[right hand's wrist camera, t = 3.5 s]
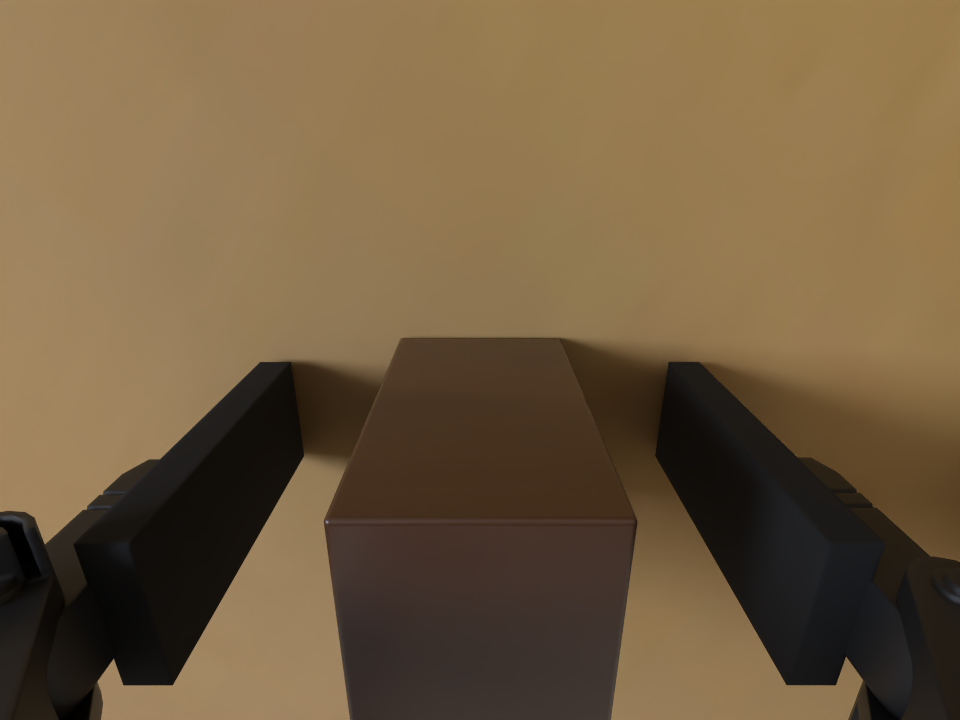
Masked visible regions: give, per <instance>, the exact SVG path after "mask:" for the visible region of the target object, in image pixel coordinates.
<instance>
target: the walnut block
mask: <svg viewBox="0 0 960 720" xmlns="http://www.w3.org/2000/svg"><path fill="white" fill-rule="evenodd" d="M324 527H325V534H326V542H327V549H328V557H329V564H330V572H331V579H332V587H333V594H334V602H335V610H336V617H337V625H338V632H339V640H340V647H341V655H342V662H343V670H344V677H345V685H346V692H347V700H348V707H349V715H350V720H611V713H612V706H613V699H614V691H615V684H616V676H617V669H618V662H619V654H620V647H621V639H622V632H623V625H624V617H625V610H626V602H627V595H628V588H629V580H630V573H631V565H632V558H633V551H634V543H635V536H636V529H637V519H636V516H635V514H634V512H633V509H632V507H631V505H630V502H629V500H628V498H627V495H626V493H625V491H624V488H623V486H622V483H621V481H620V479H619V476H618V474H617V472H616V469H615V467H614V465H613V462H612V460H611V458H610V455H609V453H608V451H607V448H606V446H605V444H604V441H603V439H602V437H601V434H600V432H599V430H598V427H597V425H596V423H595V420H594V418H593V416H592V413H591V411H590V409H589V406H588V404H587V402H586V399H585V397H584V394H583V392H582V390H581V387H580V385H579V383H578V380H577V378H576V376H575V373H574V371H573V369H572V366H571V364H570V362H569V359H568V357H567V355H566V352H565V350H564V348H563V345H562V343H561V341H560V339H558V338H402V339H400V341H399V344H398V346H397V348H396V351H395V353H394V356H393V358H392V360H391V363H390V365H389V367H388V370H387V372H386V375H385V377H384V379H383V382H382V384H381V386H380V389H379V391H378V394H377V396H376V398H375V401H374V403H373V405H372V408H371V410H370V413H369V415H368V417H367V420H366V422H365V424H364V427H363V429H362V431H361V434H360V436H359V439H358V441H357V443H356V446H355V448H354V450H353V453H352V455H351V458H350V460H349V462H348V465H347V467H346V469H345V472H344V474H343V477H342V479H341V481H340V484H339V486H338V488H337V491H336V493H335V496H334V498H333V500H332V503H331V505H330V507H329V510H328V512H327V515H326V517H325V520H324Z"/></svg>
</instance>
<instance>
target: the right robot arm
mask: <svg viewBox="0 0 960 720" xmlns="http://www.w3.org/2000/svg"><path fill="white" fill-rule="evenodd" d="M655 456H656V458H657V459H658V461H659V463H660V465H661V466H662V468H663V470H664V472H665V473H666V475H667V477H668V479H669V480H670V482H671V484H672V486H673V487H674V489H675V491H676V493H677V494H678V496H679V498H680V500H681V501H682V503H683V505H684V507H685V508H686V510H687V512H688V514H689V515H690V517H691V519H692V521H693V522H694V524H695V526H696V528H697V529H698V531H699V533H700V535H701V536H702V538H703V540H704V542H705V543H706V545H707V547H708V549H709V550H710V552H711V554H712V556H713V557H714V559H715V561H716V563H717V564H718V566H719V568H720V570H721V571H722V573H723V575H724V577H725V578H726V580H727V582H728V584H729V585H730V587H731V589H732V591H733V592H734V594H735V596H736V598H737V599H738V601H739V603H740V604H741V606H742V608H743V610H744V611H745V613H746V615H747V617H748V618H749V620H750V622H751V624H752V625H753V627H754V629H755V631H756V632H757V634H758V636H759V638H760V639H761V641H762V643H763V645H764V646H765V648H766V650H767V652H768V653H769V655H770V657H771V659H772V660H773V662H774V664H775V666H776V667H777V669H778V671H779V673H780V674H781V676H782V678H783V680H784V681H785V683H786V685H836V683H837V680H838V677H839V675H840V672H841V669H842V666H843V663H844V661H845V658H846V657H847V658H848V659H849V661H850V662H851V664H852V665H853V666H854V668H855V669H856V671H857V672H858V673H859V675H860V676H861V677H862V679H863V683H862V685H861V688H860V690H859V693H858V696H857V698H856V701H855V704H854V706H853V709H852V711H851V714H850V717H849V719H848V720H960V562H958V561H955V560H950V559H944V558H938V557H930V556H929V555H928V554H927V553H926V552H925V551H924V550H923V549H922V548H921V547H919V546H918V545H917V544H916V543H915V542H914V541H913V540H912V539H911V538H909V537H908V536H907V535H906V534H905V533H904V532H903V531H902V530H901V529H899V528H898V527H897V526H896V525H895V524H894V523H893V522H892V521H891V520H890V519H888V518H887V517H886V516H885V515H884V514H883V513H882V512H881V511H880V510H878V509H877V508H873V506H872V503H871V502H870V501H868V500H867V499H866V498H865V497H864V496H863V495H862V494H861V493H857V492H856V489H855V488H854V487H853V486H852V485H851V484H850V483H849V482H847V481H846V480H845V479H844V478H843V477H842V476H841V475H840V474H839V473H837V472H836V471H834V470H832V469H830V468H829V467H827V466H825V465H823V464H821V463H819V462H818V461H816V460H814V459H812V458H797V457H796V456H795V455H794V454H793V453H792V452H791V451H790V450H789V449H788V448H787V447H786V446H785V445H784V444H783V443H782V442H781V441H780V440H779V439H778V438H777V437H776V436H775V435H773V434H772V433H771V432H770V431H769V430H768V429H767V428H766V427H765V426H764V425H763V424H762V423H761V422H760V421H759V420H758V419H757V418H756V417H755V416H754V415H753V414H752V413H751V412H750V411H749V410H748V409H747V408H746V407H745V406H744V405H743V404H742V403H741V402H740V401H738V400H737V399H736V398H735V397H734V396H733V395H732V394H731V393H730V392H729V391H728V390H727V389H726V388H725V387H724V386H723V385H722V384H721V383H720V382H719V381H718V380H717V379H716V378H715V377H714V376H713V375H712V374H711V373H710V372H709V371H708V370H707V369H706V368H704V367H703V366H702V365H701V364H700V363H699V362H669V364H668V371H667V378H666V385H665V392H664V399H663V406H662V413H661V420H660V427H659V434H658V441H657V448H656V455H655ZM303 457H304V452H303V445H302V438H301V431H300V424H299V417H298V410H297V403H296V397H295V390H294V383H293V376H292V369H291V362H260V363H259V364H258V365H257V366H256V367H255V368H254V369H253V370H252V371H251V372H250V373H249V374H248V375H247V376H246V377H245V378H244V379H243V380H241V381H240V382H239V383H238V384H237V385H236V386H235V387H234V388H233V389H232V390H231V391H230V392H229V393H228V394H227V395H226V396H225V397H224V398H223V399H222V400H221V401H220V402H219V403H218V404H217V405H216V406H215V407H214V408H213V409H212V410H211V411H210V412H209V413H207V414H206V415H205V416H204V417H203V418H202V419H201V420H200V421H199V422H198V423H197V424H196V425H195V426H194V427H193V428H192V429H191V430H190V431H189V432H188V433H187V434H186V435H185V436H184V437H183V438H182V439H181V440H180V441H179V442H178V443H177V444H176V445H175V446H173V447H172V448H171V449H170V450H169V451H168V452H167V453H166V454H165V455H164V456H163V457H162V458H161V459H160V460H147V461H145V462H144V463H142V464H140V465H138V466H136V467H135V468H133V469H131V470H129V471H128V472H126V473H124V474H122V475H121V476H120V477H119V478H118V479H117V480H116V481H115V482H113V483H112V484H111V485H110V486H109V487H108V488H107V489H106V490H105V491H104V492H103V495H99V496H98V497H97V498H96V499H95V500H94V501H93V502H91V503H90V504H89V505H88V506H87V510H83V511H82V512H80V513H79V514H78V515H77V516H76V517H75V518H74V519H73V520H72V521H71V522H69V523H68V524H67V525H66V526H65V527H64V528H63V529H62V530H61V531H60V532H58V533H57V534H56V535H55V536H54V537H53V538H52V539H51V540H50V541H49V542H47V543H46V544H44V542H43V539H42V536H41V534H40V531H39V529H38V526H37V523H36V521H35V518H34V517H32V516H31V515H29V514H27V513H26V512H15V511H5V512H0V720H101V714H102V707H103V701H102V695H101V690H100V688H99V685H98V683H97V681H98V680H99V678H100V677H101V675H102V674H103V673H104V671H105V670H106V669H107V667H108V666H109V664H110V663H111V662H112V660H113V659H114V660H115V663H116V666H117V668H118V671H119V674H120V677H121V680H122V682H123V685H173V684H174V682H175V680H176V679H177V677H178V675H179V673H180V672H181V670H182V668H183V666H184V665H185V663H186V661H187V659H188V658H189V656H190V654H191V652H192V651H193V649H194V647H195V645H196V644H197V642H198V640H199V638H200V637H201V635H202V633H203V631H204V630H205V628H206V626H207V624H208V623H209V621H210V619H211V617H212V616H213V614H214V612H215V610H216V609H217V607H218V605H219V603H220V602H221V600H222V598H223V596H224V595H225V593H226V591H227V589H228V588H229V586H230V584H231V582H232V581H233V579H234V577H235V575H236V574H237V572H238V570H239V568H240V567H241V565H242V563H243V562H244V560H245V558H246V556H247V555H248V553H249V551H250V549H251V548H252V546H253V544H254V542H255V541H256V539H257V537H258V535H259V534H260V532H261V530H262V528H263V527H264V525H265V523H266V521H267V520H268V518H269V516H270V514H271V513H272V511H273V509H274V507H275V506H276V504H277V502H278V500H279V499H280V497H281V495H282V493H283V492H284V490H285V488H286V486H287V485H288V483H289V481H290V479H291V478H292V476H293V474H294V472H295V471H296V469H297V467H298V465H299V464H300V462H301V460H302V458H303Z"/></svg>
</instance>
